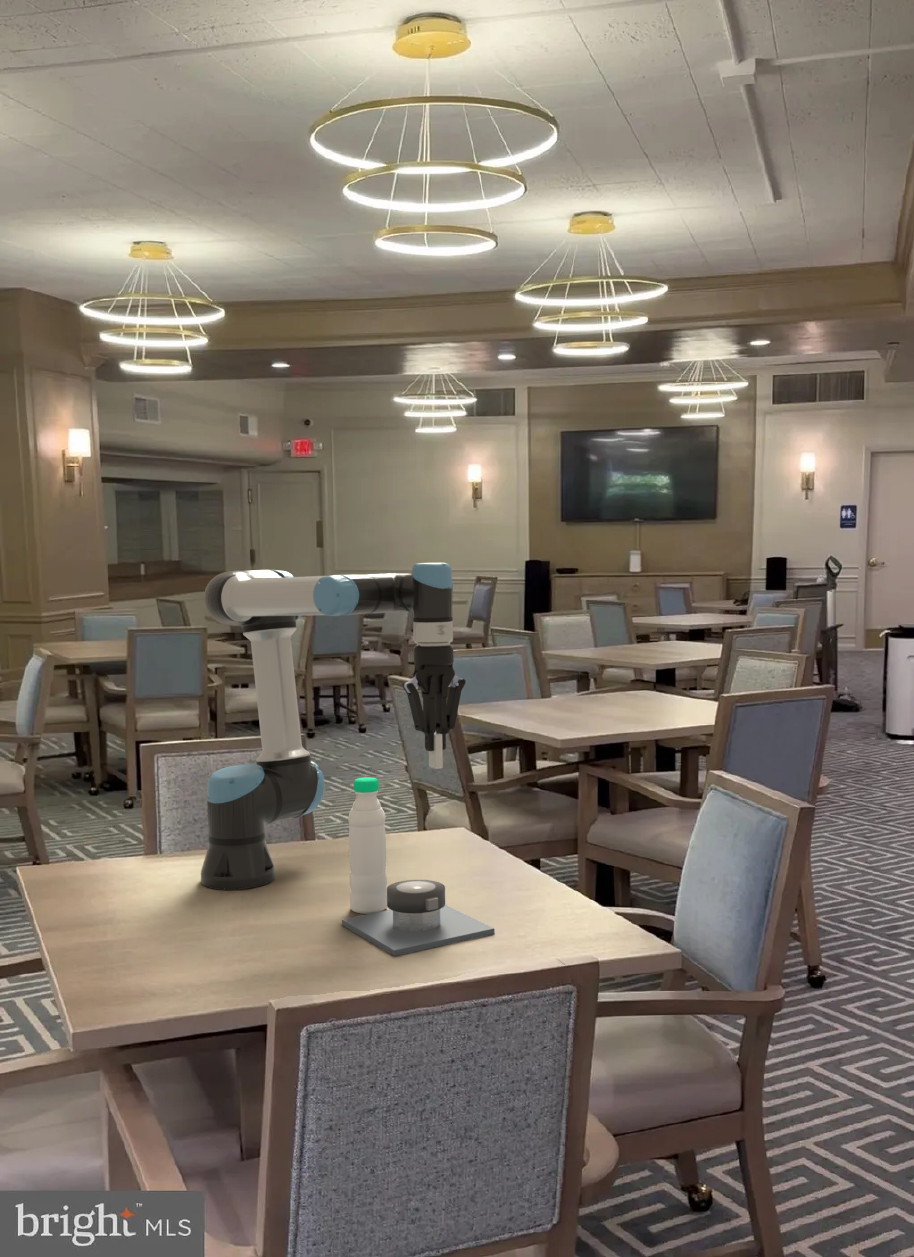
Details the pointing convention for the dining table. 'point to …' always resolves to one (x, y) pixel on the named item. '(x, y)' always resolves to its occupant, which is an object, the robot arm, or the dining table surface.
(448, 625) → the robot arm
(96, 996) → the dining table surface
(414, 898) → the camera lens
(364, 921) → the slate board
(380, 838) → the water bottle
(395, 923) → the grey hollow ring
